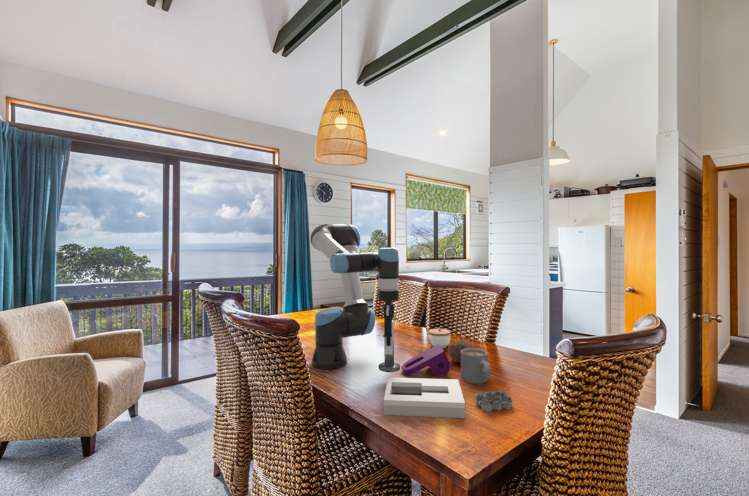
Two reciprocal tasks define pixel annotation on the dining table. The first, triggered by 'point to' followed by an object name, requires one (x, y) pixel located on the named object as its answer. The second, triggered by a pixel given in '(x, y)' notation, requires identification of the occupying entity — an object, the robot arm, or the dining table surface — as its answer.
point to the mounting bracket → (428, 362)
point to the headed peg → (389, 358)
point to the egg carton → (493, 400)
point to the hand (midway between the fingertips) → (389, 351)
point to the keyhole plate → (424, 398)
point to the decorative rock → (458, 349)
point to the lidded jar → (439, 337)
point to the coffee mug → (474, 365)
